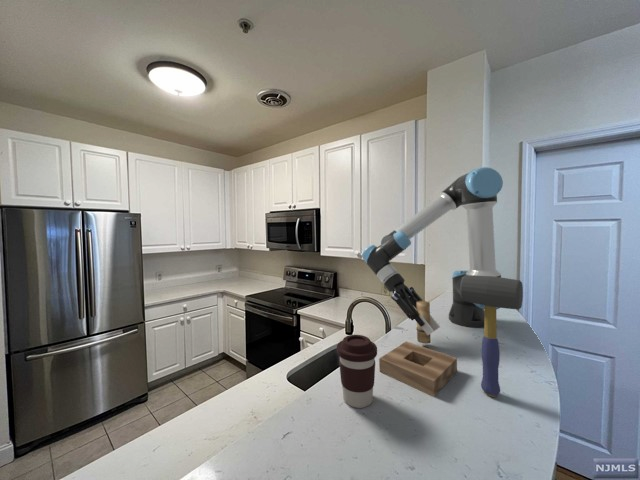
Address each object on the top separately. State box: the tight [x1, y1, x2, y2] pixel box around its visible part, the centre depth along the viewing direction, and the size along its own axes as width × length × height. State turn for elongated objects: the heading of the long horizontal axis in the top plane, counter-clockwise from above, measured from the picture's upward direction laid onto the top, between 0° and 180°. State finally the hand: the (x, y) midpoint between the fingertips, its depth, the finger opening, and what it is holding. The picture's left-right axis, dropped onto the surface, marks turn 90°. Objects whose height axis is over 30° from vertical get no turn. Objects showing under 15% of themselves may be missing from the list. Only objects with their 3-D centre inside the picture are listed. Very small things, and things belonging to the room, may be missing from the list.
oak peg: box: [416, 300, 431, 345], centre depth 89 cm, size 5×5×14 cm
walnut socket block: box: [378, 341, 458, 398], centre depth 74 cm, size 16×16×4 cm
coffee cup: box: [336, 334, 378, 409], centre depth 62 cm, size 10×10×15 cm
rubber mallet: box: [460, 275, 524, 398], centre depth 62 cm, size 12×8×30 cm, turn 45°
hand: (434, 330), depth 87 cm, fingers closed on oak peg, 4 cm apart
